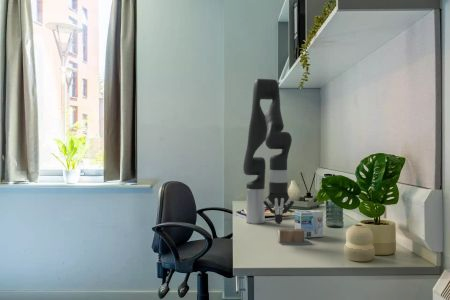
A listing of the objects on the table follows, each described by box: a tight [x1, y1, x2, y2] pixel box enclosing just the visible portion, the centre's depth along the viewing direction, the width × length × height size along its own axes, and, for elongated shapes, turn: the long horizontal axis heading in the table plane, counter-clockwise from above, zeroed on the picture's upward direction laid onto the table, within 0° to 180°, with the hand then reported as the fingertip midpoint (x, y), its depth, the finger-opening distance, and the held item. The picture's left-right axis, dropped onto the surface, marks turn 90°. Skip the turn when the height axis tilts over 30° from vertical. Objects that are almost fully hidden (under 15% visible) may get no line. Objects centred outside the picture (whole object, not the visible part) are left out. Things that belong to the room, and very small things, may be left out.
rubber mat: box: [280, 238, 313, 246], centre depth 164 cm, size 10×12×1 cm
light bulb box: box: [294, 209, 324, 239], centre depth 173 cm, size 11×7×11 cm, turn 105°
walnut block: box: [276, 228, 304, 244], centre depth 164 cm, size 4×4×10 cm
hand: (278, 223), depth 163 cm, fingers closed
